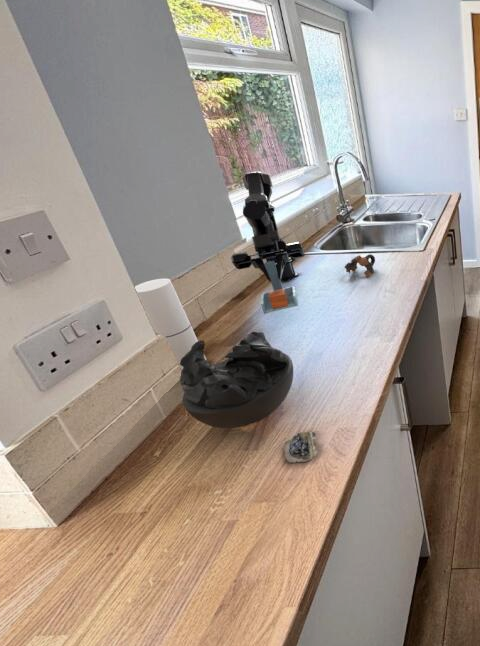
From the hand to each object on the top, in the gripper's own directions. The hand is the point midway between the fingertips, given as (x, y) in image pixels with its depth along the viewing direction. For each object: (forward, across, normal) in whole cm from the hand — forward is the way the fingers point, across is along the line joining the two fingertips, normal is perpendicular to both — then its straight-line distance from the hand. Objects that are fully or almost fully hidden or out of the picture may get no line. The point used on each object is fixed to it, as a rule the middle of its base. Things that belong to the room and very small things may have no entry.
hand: (274, 280), depth 122 cm
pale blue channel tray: (+7, 0, +2) cm, 7 cm away
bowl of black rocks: (+40, -7, -21) cm, 46 cm away
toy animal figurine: (-6, +27, +25) cm, 37 cm away
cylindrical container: (+21, -23, -2) cm, 31 cm away
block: (+8, 0, +1) cm, 8 cm away
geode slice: (+51, +2, -32) cm, 61 cm away
